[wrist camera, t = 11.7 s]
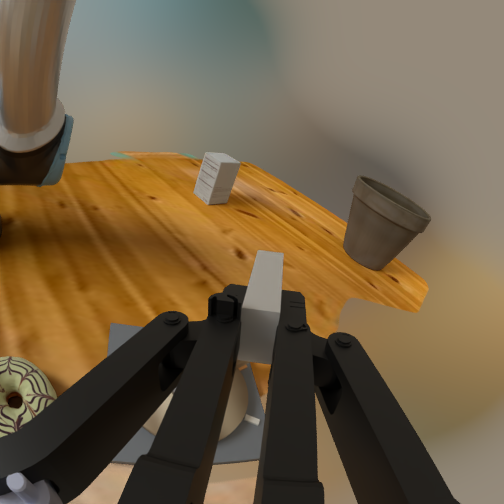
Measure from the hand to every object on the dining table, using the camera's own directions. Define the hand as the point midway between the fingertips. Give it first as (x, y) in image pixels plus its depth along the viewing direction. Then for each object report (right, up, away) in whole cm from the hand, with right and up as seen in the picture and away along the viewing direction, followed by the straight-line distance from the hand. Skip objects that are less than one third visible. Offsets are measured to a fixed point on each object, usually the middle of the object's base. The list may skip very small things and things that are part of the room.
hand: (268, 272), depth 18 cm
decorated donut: (-26, -16, +3) cm, 31 cm away
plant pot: (+33, 0, +70) cm, 78 cm away
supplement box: (-13, +16, +65) cm, 68 cm away
